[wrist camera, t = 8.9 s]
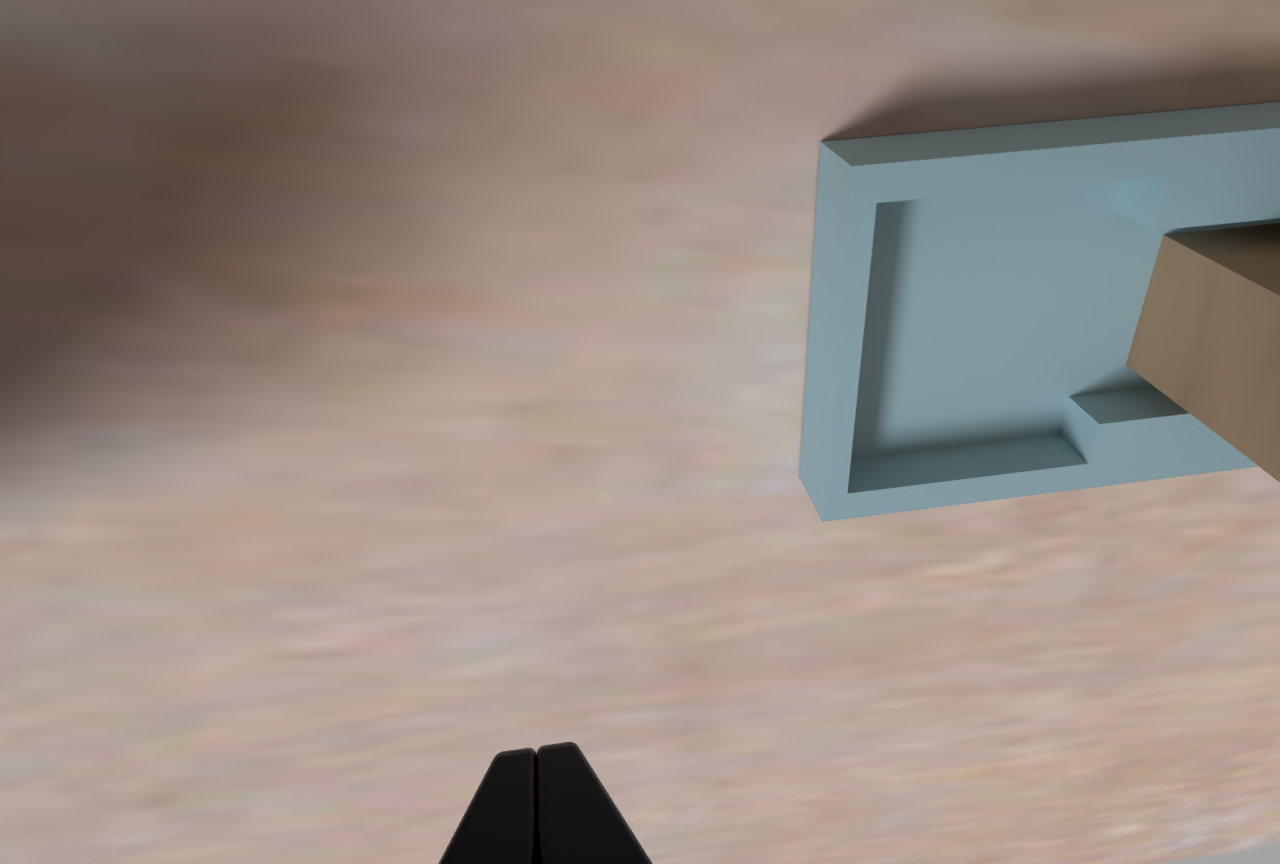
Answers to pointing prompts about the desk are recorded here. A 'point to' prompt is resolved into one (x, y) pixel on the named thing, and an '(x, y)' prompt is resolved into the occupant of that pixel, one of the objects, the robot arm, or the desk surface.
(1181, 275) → the brown wooden block
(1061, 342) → the slot base
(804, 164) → the desk surface
